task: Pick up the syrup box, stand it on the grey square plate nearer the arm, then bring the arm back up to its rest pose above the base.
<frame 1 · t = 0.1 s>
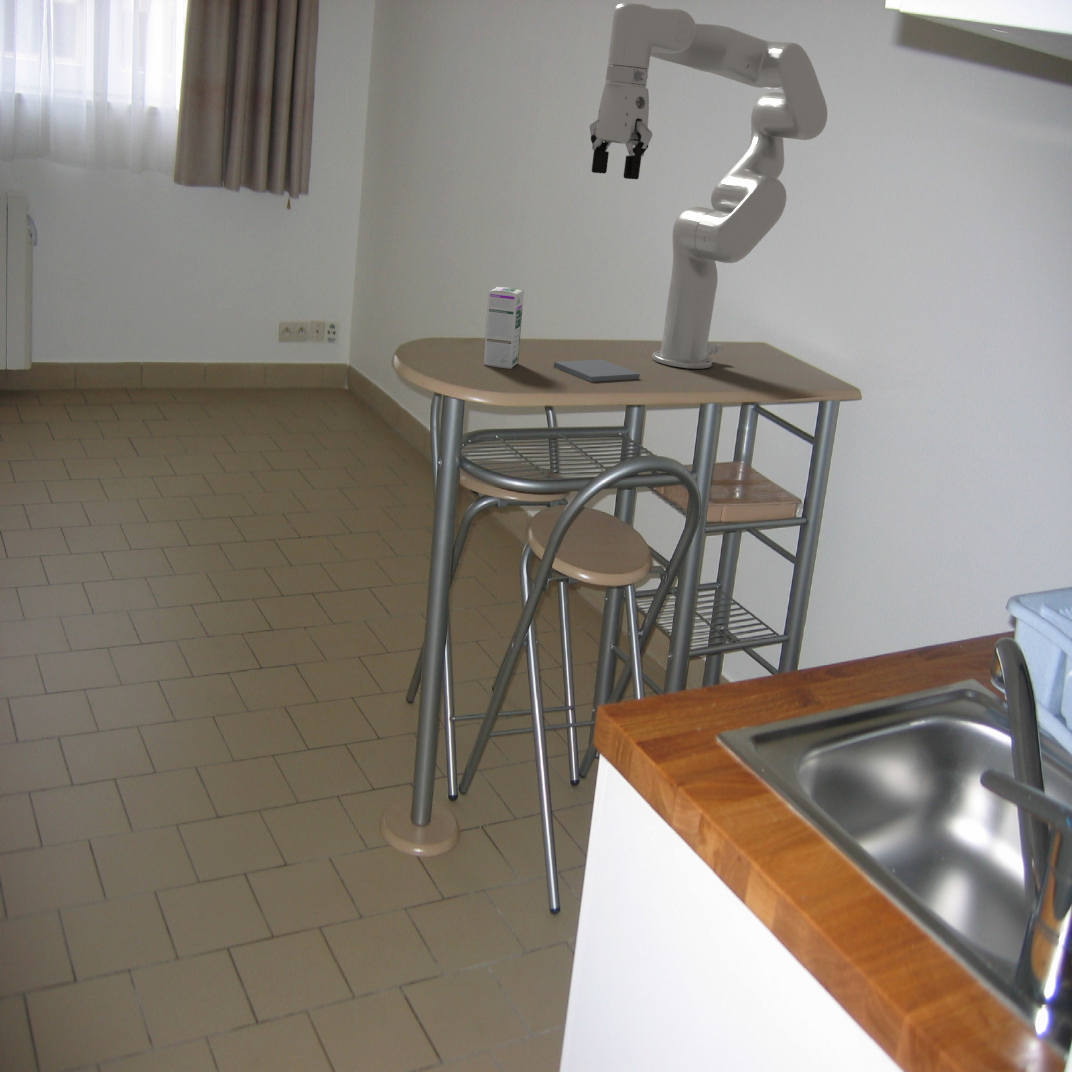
hand: (614, 175, 213), 37 cm above the table, tool pointing down, fingers open, 9 cm apart
syrup box: (500, 365, 221), on the table
grey square plate: (596, 372, 222), on the table
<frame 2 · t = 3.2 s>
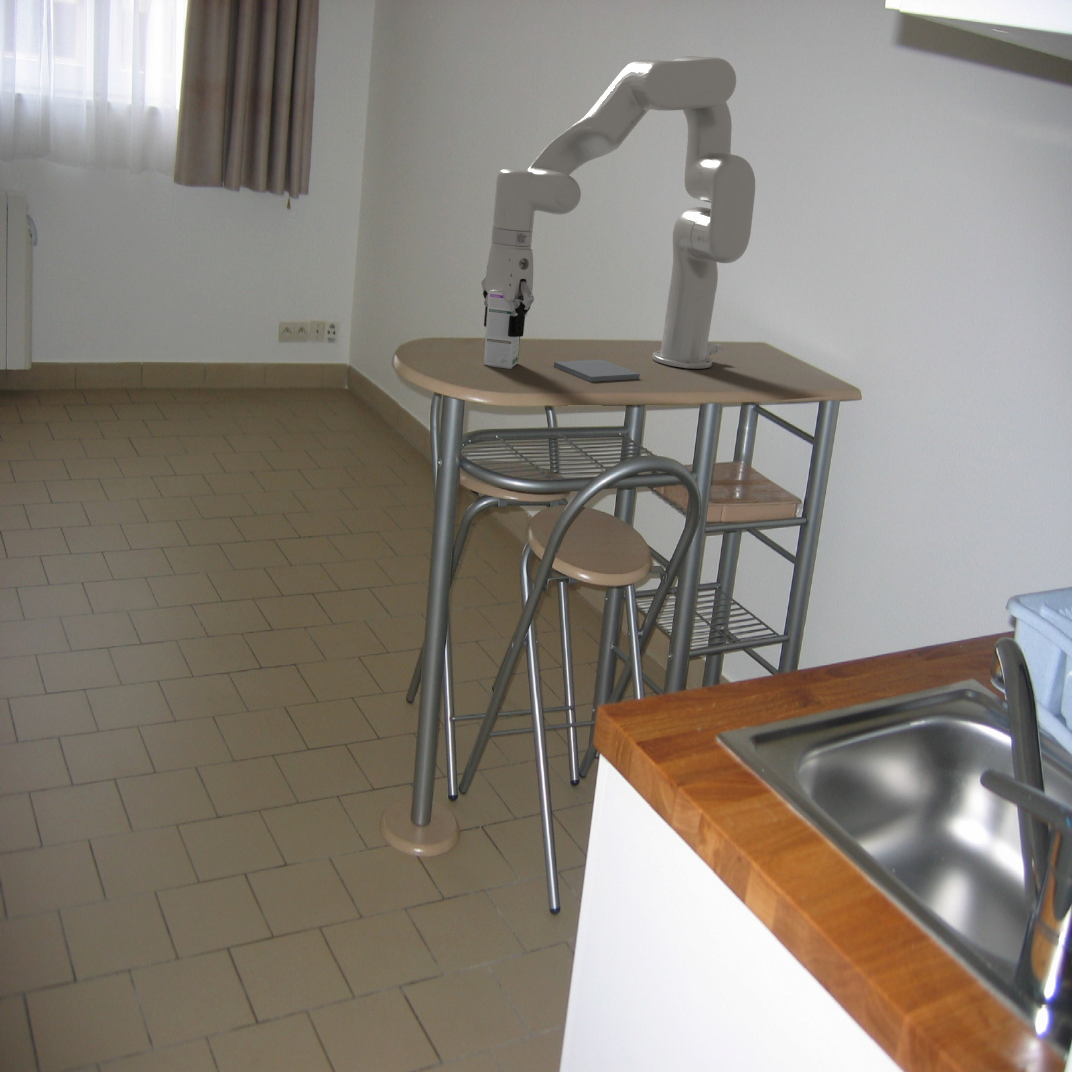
hand: (503, 331, 218), 6 cm above the table, tool pointing down, fingers closed on syrup box, 7 cm apart
syrup box: (500, 365, 221), on the table, touching gripper
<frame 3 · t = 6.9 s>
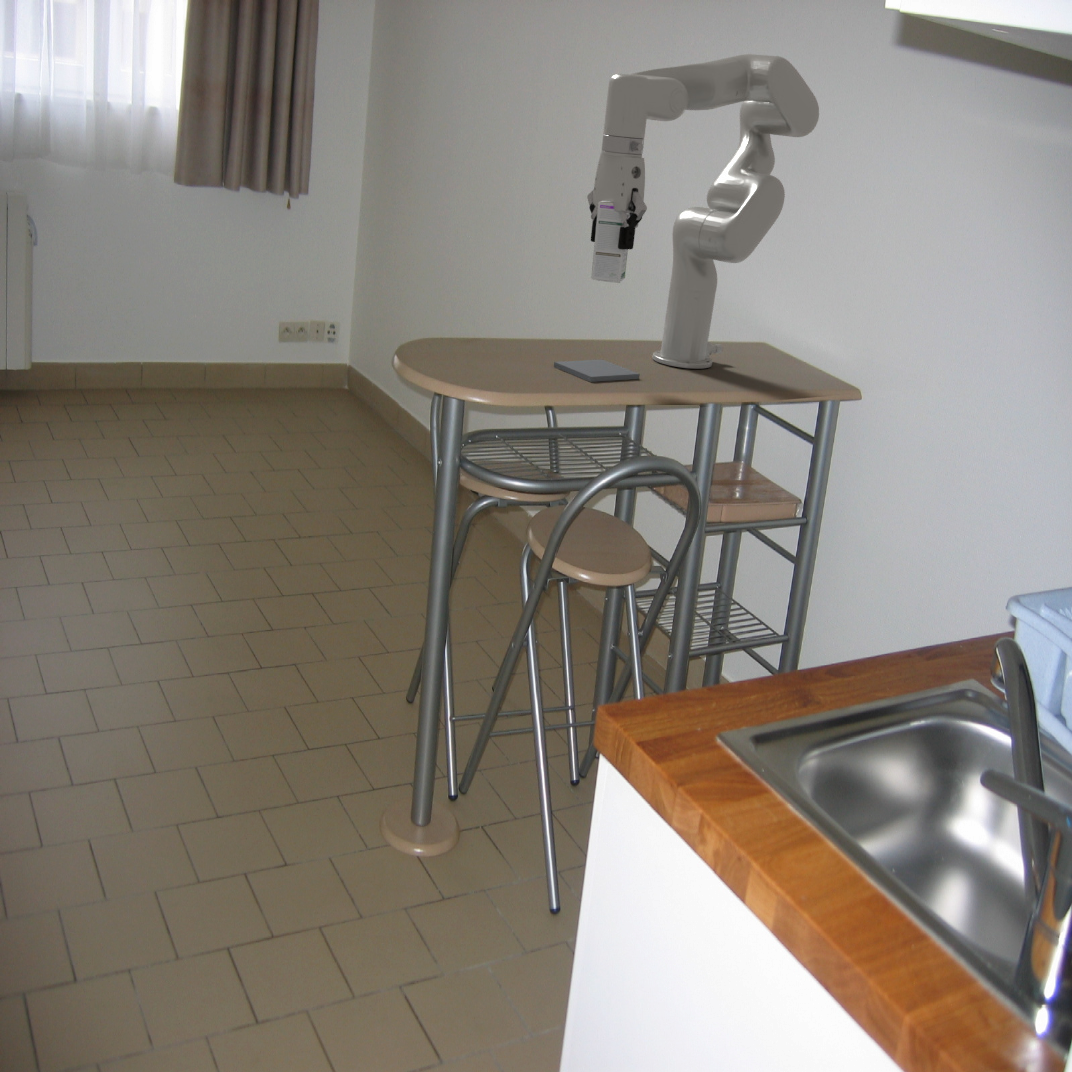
hand: (611, 244, 213), 25 cm above the table, tool pointing down, fingers closed on syrup box, 7 cm apart
syrup box: (607, 280, 216), point 18 cm above the table, touching gripper
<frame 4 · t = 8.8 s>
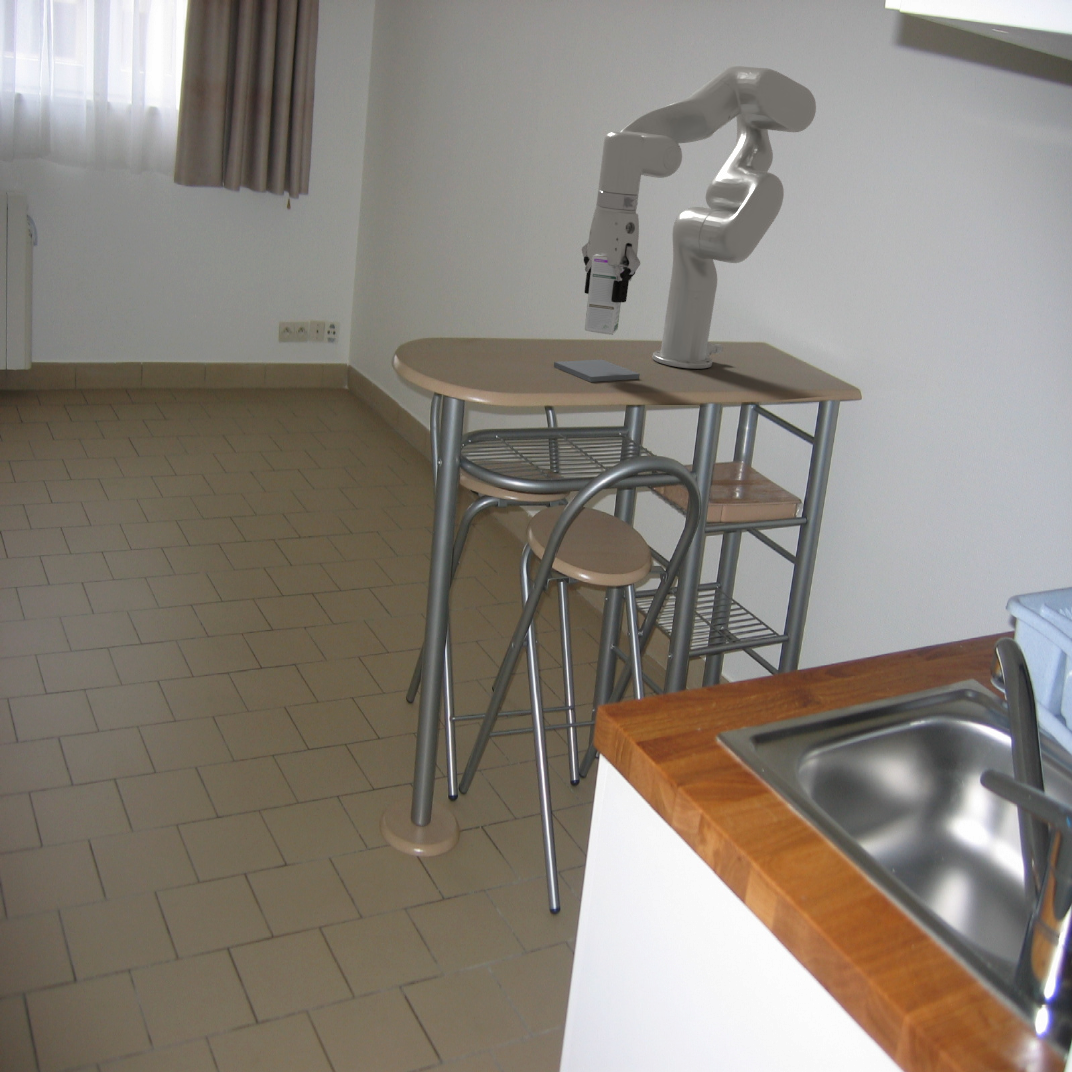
hand: (604, 297, 217), 15 cm above the table, tool pointing down, fingers closed on syrup box, 7 cm apart
syrup box: (600, 331, 219), point 8 cm above the table, touching gripper
when the fingers open (9 cm above the table, at t = 10.6 s): syrup box drops 1 cm, resting on grey square plate.
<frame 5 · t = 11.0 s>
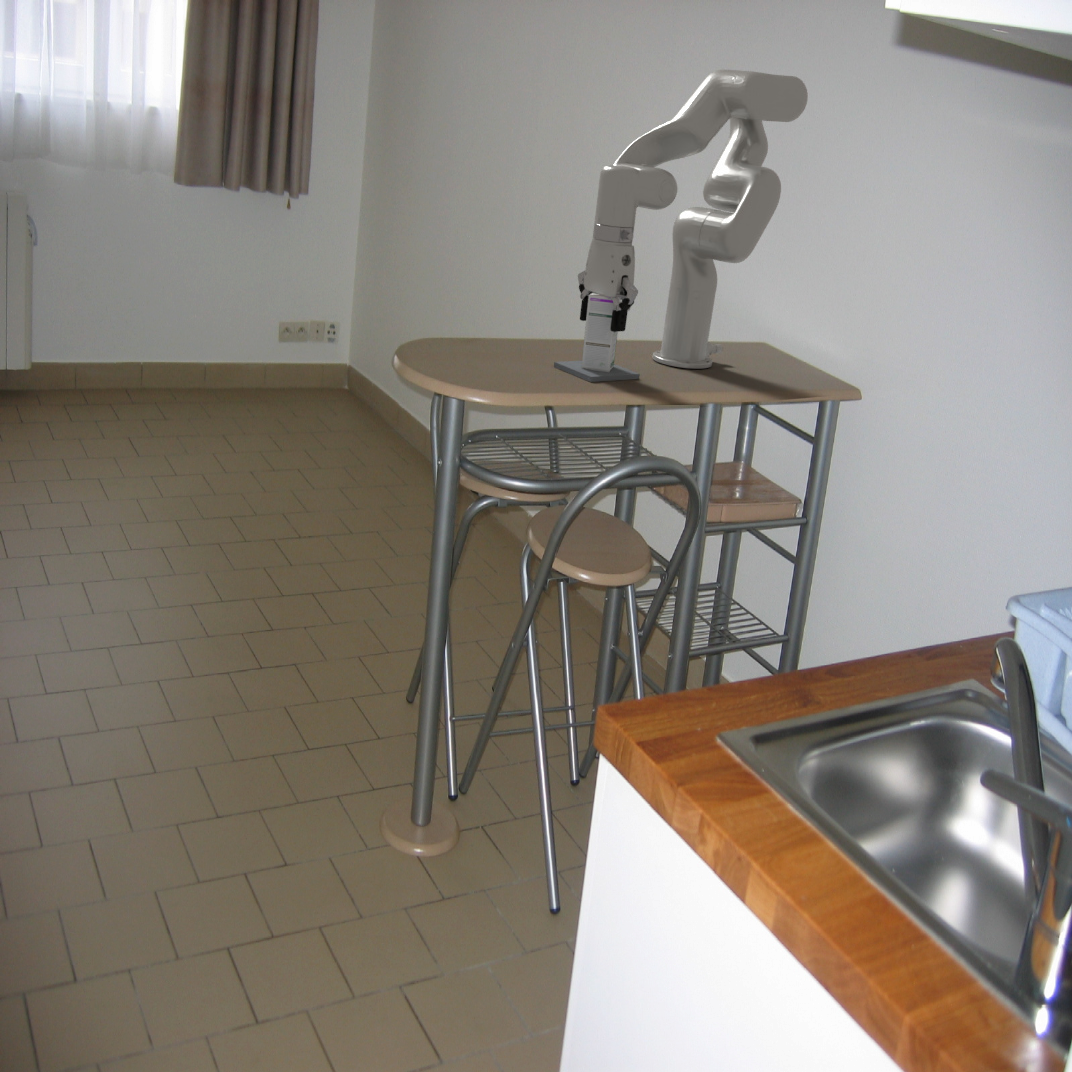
hand: (601, 325, 219), 9 cm above the table, tool pointing down, fingers open, 9 cm apart
syrup box: (596, 368, 222), point 1 cm above the table, touching grey square plate
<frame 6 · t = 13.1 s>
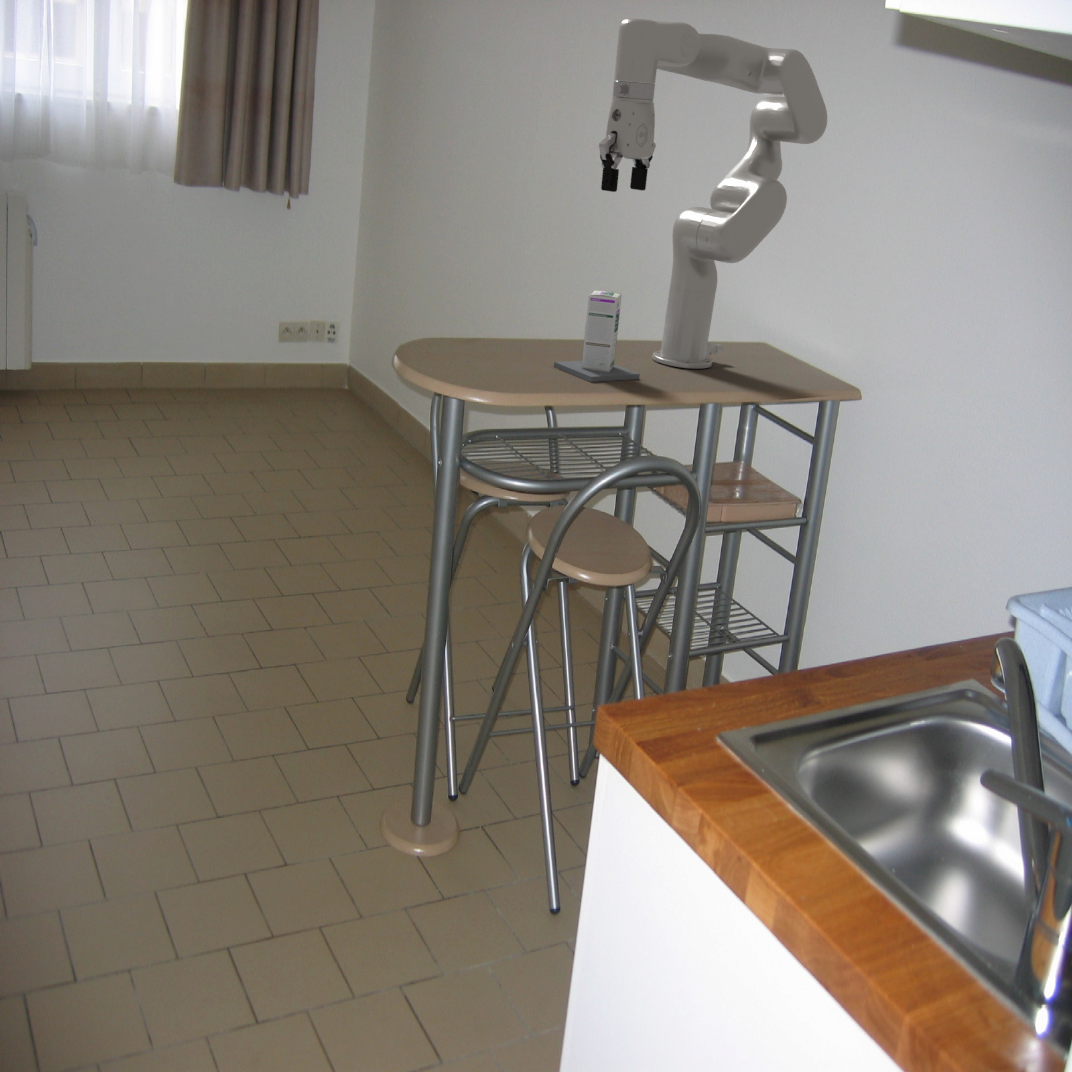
hand: (623, 190, 214), 34 cm above the table, tool pointing down, fingers open, 9 cm apart
nothing on the table moved.
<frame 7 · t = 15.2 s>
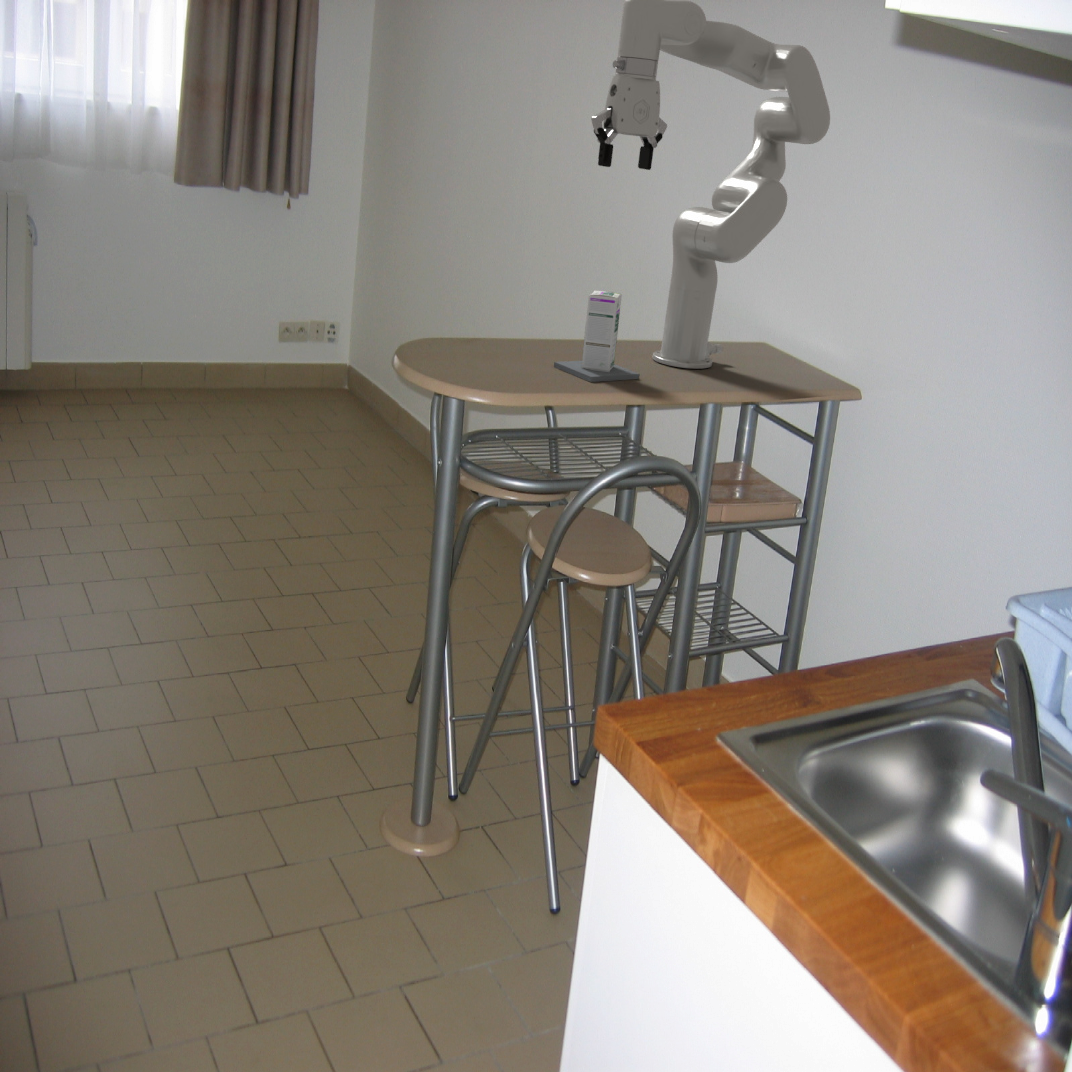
hand: (624, 167, 214), 38 cm above the table, tool pointing down, fingers open, 9 cm apart
nothing on the table moved.
at the end: syrup box inside the target area on the grey square plate (0.3 cm from its centre), point 0.8 cm above the grey square plate's base; syrup box tilted 0°; the gripper is holding nothing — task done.
